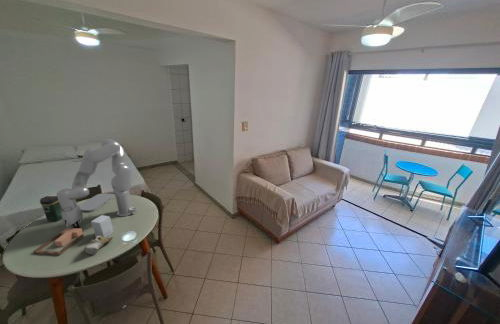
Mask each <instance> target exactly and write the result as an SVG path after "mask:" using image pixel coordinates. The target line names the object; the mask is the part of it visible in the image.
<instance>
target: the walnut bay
mask: <svg viewBox="0 0 500 324" xmlns="http://www.w3.org/2000/svg"><path fill="white" fill-rule="evenodd" d="M60 236H62V234H61V232H59V233H58V234H56V235H55V236H54V237H52V238H50V239H49V240H47V241H46V242H45V243H43V244H41V245H40V246H39V247H38V248H36V249H35V250H32V253H33V254H37V255H48V256H49V255H52V256H61V255H62V254H64V253H65V252H66V251H67V250H69V249H70V248H71V247H72V246H74V245H75V244H76V243H77V242H78V241H80V240H81V239H83V238H84V236H85V234H84V233H83V234H81V235H80V236H79V237H75V239H74V240H71V242H69V243H67V244H66V245H65V247H63V248H62V249H61V250H59V251H55V250H54V251H53V250H43V249H45V247H47V246H49V245H50V244H51V243H53V242H54V241H55V240H57V239H58V238H59V237H60Z"/></svg>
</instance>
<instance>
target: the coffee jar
mask: <svg viewBox="0 0 500 324" xmlns="http://www.w3.org/2000/svg"><path fill="white" fill-rule="evenodd" d="M39 203H40V205H41V207H42V209H43V211H44V214H45V217H46V220H47V221H48V222H59V221H60V220H62V215H61V212H62V208H61V205H60V203H59V200H58V197H57V195H56V196H53V195H46V196H44V197H41V198H40V200H39Z"/></svg>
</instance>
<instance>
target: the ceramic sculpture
mask: <svg viewBox="0 0 500 324" xmlns="http://www.w3.org/2000/svg"><path fill="white" fill-rule="evenodd" d="M112 240H113V236H111V237H106V238H105V239H104V237H103V236H96V235H95V236H94V237H93V238H91V239H90V241H89V243H88V245H86V246H84V251H85V253H86V254H89V255H96V254H97V253H98V251H99V249H100V248H102V247H103V246H104V245H107V244H109V243H110V242H111V241H112Z"/></svg>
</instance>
